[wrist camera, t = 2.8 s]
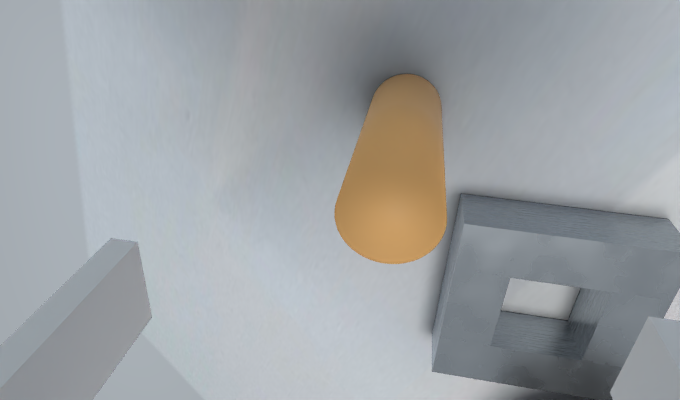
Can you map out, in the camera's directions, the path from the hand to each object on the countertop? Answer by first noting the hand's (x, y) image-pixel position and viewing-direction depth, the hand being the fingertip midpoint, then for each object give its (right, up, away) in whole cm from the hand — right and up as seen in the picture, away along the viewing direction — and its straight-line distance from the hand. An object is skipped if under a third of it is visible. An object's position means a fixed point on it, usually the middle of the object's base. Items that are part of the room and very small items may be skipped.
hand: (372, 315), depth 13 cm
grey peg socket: (+12, -3, +19) cm, 23 cm away
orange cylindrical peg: (+3, +8, +15) cm, 17 cm away
